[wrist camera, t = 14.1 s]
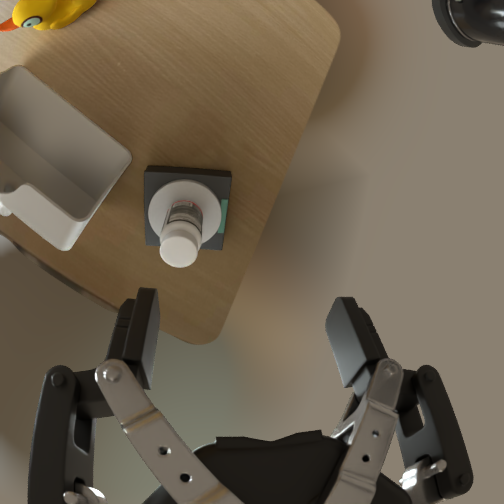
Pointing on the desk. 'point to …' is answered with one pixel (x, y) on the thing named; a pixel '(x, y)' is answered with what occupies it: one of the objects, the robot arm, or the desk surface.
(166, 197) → the scale
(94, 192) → the tank
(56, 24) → the duckling
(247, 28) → the desk surface
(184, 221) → the pill bottle
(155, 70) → the desk surface
